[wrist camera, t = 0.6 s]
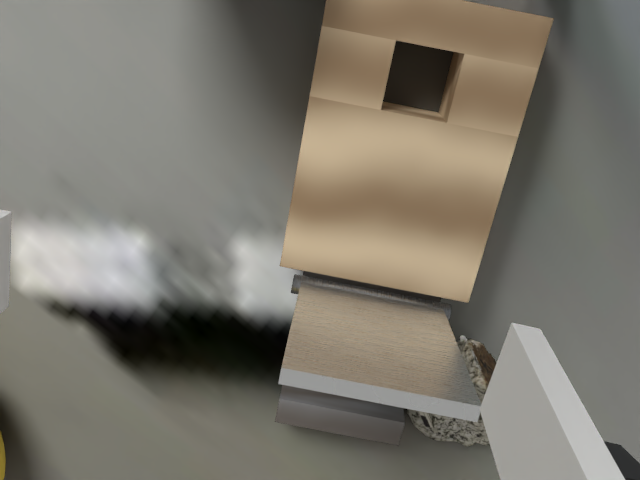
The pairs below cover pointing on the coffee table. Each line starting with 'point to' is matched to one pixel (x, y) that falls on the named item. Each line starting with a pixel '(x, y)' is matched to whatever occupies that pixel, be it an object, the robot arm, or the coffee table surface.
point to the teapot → (2, 458)
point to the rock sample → (480, 374)
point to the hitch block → (403, 167)
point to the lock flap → (377, 349)
